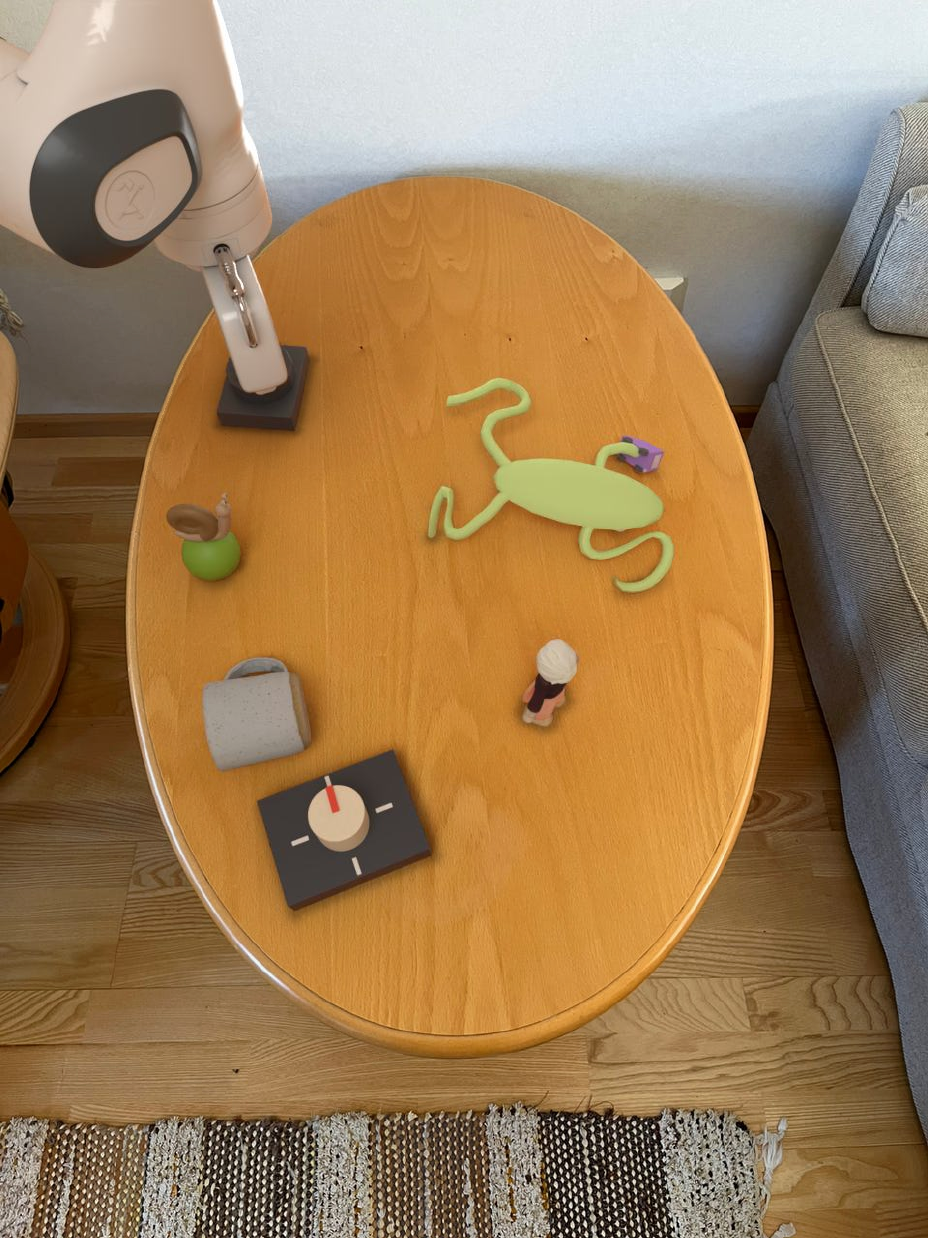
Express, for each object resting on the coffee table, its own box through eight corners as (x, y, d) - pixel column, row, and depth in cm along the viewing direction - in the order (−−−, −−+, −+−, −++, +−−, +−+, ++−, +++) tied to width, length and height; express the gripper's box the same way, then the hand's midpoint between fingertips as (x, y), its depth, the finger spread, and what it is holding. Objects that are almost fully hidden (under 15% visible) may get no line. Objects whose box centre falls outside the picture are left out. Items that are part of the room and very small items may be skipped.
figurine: (459, 396, 92) (459, 360, 87) (697, 461, 89) (712, 427, 84) (400, 531, 85) (396, 499, 80) (658, 608, 81) (671, 580, 76)
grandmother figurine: (538, 665, 78) (553, 603, 67) (576, 682, 78) (598, 622, 66) (505, 736, 75) (514, 684, 64) (544, 754, 74) (560, 704, 63)
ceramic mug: (319, 760, 74) (305, 731, 67) (226, 783, 73) (203, 755, 66) (300, 655, 79) (285, 617, 72) (212, 674, 78) (189, 638, 71)
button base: (294, 431, 90) (288, 406, 87) (221, 425, 90) (211, 400, 87) (309, 360, 95) (304, 334, 91) (239, 355, 95) (231, 329, 91)
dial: (376, 841, 68) (371, 829, 64) (323, 859, 67) (315, 849, 63) (360, 790, 70) (355, 776, 66) (309, 807, 69) (301, 794, 65)
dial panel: (294, 911, 68) (287, 906, 66) (263, 809, 72) (256, 800, 69) (431, 855, 70) (430, 848, 68) (395, 759, 74) (392, 748, 71)
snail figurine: (252, 591, 81) (221, 524, 71) (186, 590, 81) (145, 523, 71) (259, 543, 84) (230, 471, 73) (195, 542, 84) (156, 470, 73)
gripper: (287, 292, 56) (320, 426, 68) (216, 110, 64) (256, 259, 77) (194, 317, 55) (244, 448, 67) (134, 129, 63) (188, 277, 76)
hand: (250, 346), depth 72 cm, fingers open, 8 cm apart
